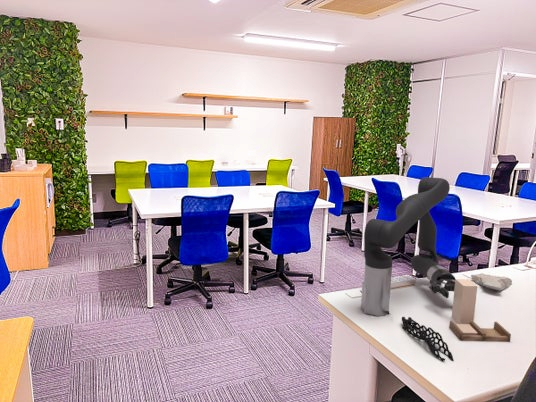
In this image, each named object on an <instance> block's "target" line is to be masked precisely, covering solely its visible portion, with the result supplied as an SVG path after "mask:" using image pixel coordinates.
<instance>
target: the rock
mask: <svg viewBox="0 0 536 402" xmlns="http://www.w3.org/2000/svg"><path fill="white" fill-rule="evenodd" d="M470 277H471V279H472V280H473V281H474V282H475V283H476V285H481V286H484V287H486V288H488V289H490V290H496V291H503V290H504V289H508V288H509V287H510V286H511V284H512V283H513V280H512V279H511V278H509V277H506V276H497V275H491V274H485V273H483V272H481V273H477V274H471V275H470Z"/></svg>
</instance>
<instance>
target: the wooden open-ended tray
mask: <svg viewBox="0 0 536 402" xmlns="http://www.w3.org/2000/svg"><path fill="white" fill-rule="evenodd" d="M455 324H456V322H455V321H454V320H449V325H448V329H450V331H451V332H452V333H453V334H454V335H455V336H456V337H457V339H458V340H459V341H461V342H462V341H464V342H502V343H503V342H505V343H507V342H508V343H509V342H511V338H512V337H511V336H512V334H511V333H510V332H509V331H508V330H507V329H506V328H505V327H503V326H502V325H501V324H500V323H499V322H498V321H494V323H493V328H492V327H491V328H490V327H487V328H485V327H484V328H482V327H480V326H479V325H478V324H477V323H476V322H475V321H470V326H471V327H472V328H473V329H474V330H475V331H476V332H477V333H478V335H463V332H462V331H461V330H460V329H459V328H458V327H457V326H456V325H455Z"/></svg>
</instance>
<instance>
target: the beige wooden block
mask: <svg viewBox="0 0 536 402" xmlns="http://www.w3.org/2000/svg"><path fill="white" fill-rule="evenodd" d="M477 293H478V284H475V283H474V282H473V281H472V280H470V279H469V278H455V288H454V292H453V301H452V308H451V318H452V320H453V321H454V322H455V324H469V325H470V321H474V319H475V312H476V311H475V310H476V302H477ZM474 322H475V321H474Z"/></svg>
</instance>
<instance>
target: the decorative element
mask: <svg viewBox="0 0 536 402" xmlns="http://www.w3.org/2000/svg"><path fill="white" fill-rule="evenodd" d="M401 322H402V325H403V326H402V327H401V328H402V329H403V330H404V331H406V332H407V334H409V335H410V336H412V337H414V338H416V339H418V340H419V341H420V340H422V341H424V342H425V344H426V345H427V346H428V348H429V350H430V352H431V353H432V354H433V355H434V357H436V358H437V359H439V360H440V361H441V362H442V363H443V362H445V361H446V358H447V357H448V359H449V360H450V361H451V362H454V357H453V354H452V351H450V350H449V346H448V344H447V342H445V341H444V340H443V337H442V335H441V334H440V333H439V332H437V331H435V330H434V329H433V328H432V327H429V326H428V327H426V325H424V324H422V325H421V324H420V323H419V322H416V320H414V319H413V318H412V317H410V316H408V317H407V318H406V317H405V316H402V317H401ZM434 335H435V336H434ZM436 340H437V341H436ZM440 343H441V344H440ZM436 345H437V346H438V348H437V347H436ZM441 349H443V351H441ZM446 353H447V354H446ZM440 354H443V355H444V356H446V358H444V357H442V356H441V355H440Z"/></svg>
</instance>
